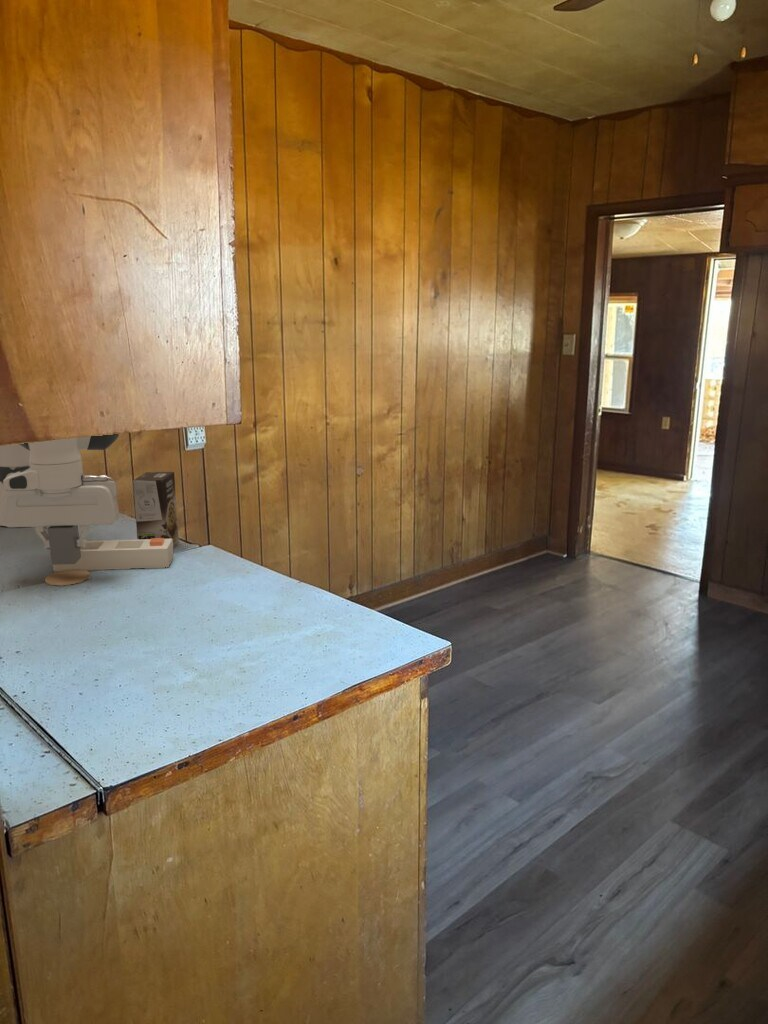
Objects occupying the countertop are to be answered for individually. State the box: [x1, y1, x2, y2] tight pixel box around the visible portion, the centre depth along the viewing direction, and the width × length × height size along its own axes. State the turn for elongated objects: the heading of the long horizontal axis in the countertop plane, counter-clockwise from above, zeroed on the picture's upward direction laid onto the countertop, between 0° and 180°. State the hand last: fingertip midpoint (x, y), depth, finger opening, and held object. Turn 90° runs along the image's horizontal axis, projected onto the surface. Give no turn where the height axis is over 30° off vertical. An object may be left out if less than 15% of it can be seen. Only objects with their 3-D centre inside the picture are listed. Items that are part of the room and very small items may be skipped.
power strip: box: [52, 538, 175, 573], centre depth 151 cm, size 22×7×5 cm, turn 97°
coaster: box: [44, 570, 91, 587], centre depth 143 cm, size 8×8×1 cm
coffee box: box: [132, 471, 180, 549], centre depth 160 cm, size 9×6×16 cm
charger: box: [47, 525, 81, 566], centre depth 141 cm, size 4×4×7 cm
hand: (65, 547), depth 142 cm, fingers closed on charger, 4 cm apart
